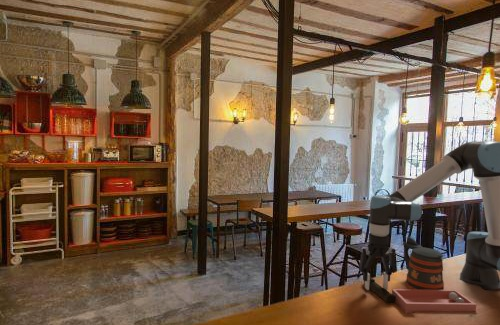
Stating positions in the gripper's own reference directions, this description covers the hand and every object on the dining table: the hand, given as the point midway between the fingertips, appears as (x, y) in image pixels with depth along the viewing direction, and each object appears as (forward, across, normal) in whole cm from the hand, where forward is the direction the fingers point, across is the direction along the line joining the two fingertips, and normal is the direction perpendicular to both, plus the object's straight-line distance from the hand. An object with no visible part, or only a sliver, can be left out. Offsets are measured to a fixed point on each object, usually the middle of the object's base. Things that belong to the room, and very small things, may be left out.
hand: (376, 288), depth 138 cm
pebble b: (+1, -28, +12) cm, 30 cm away
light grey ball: (+1, -28, +8) cm, 29 cm away
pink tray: (+2, -18, +10) cm, 20 cm away
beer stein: (+2, -22, -7) cm, 23 cm away
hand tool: (+3, 0, 0) cm, 3 cm away
